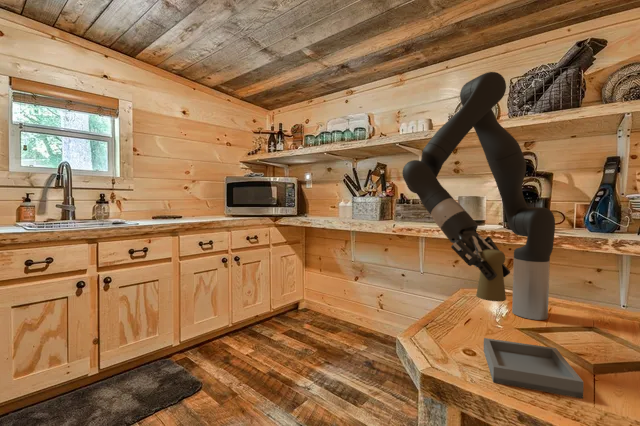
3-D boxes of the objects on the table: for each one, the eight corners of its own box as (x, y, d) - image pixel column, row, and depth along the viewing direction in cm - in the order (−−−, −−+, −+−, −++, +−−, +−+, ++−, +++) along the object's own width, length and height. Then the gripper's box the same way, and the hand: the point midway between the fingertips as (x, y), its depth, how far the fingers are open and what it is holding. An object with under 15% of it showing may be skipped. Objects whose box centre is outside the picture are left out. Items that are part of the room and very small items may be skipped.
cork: (510, 302, 69) (511, 252, 69) (480, 300, 71) (481, 251, 70) (500, 294, 75) (502, 248, 75) (473, 292, 77) (474, 247, 76)
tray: (483, 350, 74) (483, 337, 74) (555, 361, 69) (556, 348, 69) (493, 382, 61) (493, 366, 61) (583, 398, 56) (583, 381, 56)
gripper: (445, 210, 74) (495, 271, 65) (479, 209, 82) (528, 263, 73) (425, 231, 79) (470, 290, 69) (460, 228, 87) (504, 281, 77)
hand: (500, 276), depth 71 cm, fingers closed on cork, 5 cm apart
